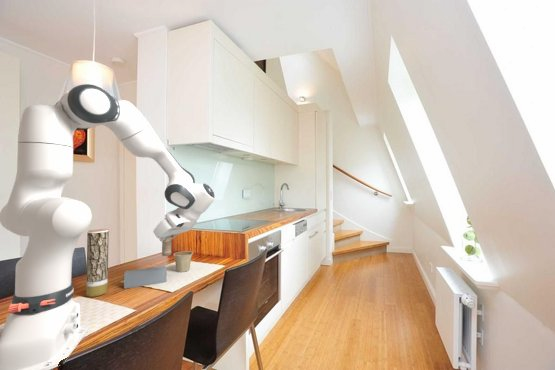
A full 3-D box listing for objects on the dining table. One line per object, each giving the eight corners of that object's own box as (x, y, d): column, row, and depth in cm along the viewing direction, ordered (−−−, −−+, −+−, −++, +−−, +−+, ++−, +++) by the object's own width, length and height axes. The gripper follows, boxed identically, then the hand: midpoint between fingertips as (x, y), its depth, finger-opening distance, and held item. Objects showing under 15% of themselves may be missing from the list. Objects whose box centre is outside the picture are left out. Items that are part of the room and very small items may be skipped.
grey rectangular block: (165, 278, 114) (165, 265, 114) (166, 281, 110) (166, 268, 110) (124, 285, 106) (124, 271, 106) (124, 288, 102) (124, 274, 102)
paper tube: (96, 298, 93) (97, 231, 94) (81, 296, 95) (82, 231, 95) (111, 291, 100) (112, 229, 101) (97, 289, 101) (98, 228, 102)
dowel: (171, 255, 104) (172, 226, 104) (162, 256, 102) (162, 227, 103) (170, 253, 107) (171, 225, 108) (161, 254, 105) (162, 226, 106)
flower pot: (193, 272, 123) (193, 254, 124) (172, 274, 120) (173, 256, 120) (192, 266, 132) (192, 250, 132) (173, 268, 129) (173, 252, 129)
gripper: (195, 209, 113) (177, 230, 116) (163, 213, 94) (142, 237, 96) (204, 219, 112) (185, 240, 114) (173, 225, 92) (151, 250, 95)
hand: (165, 239), depth 105 cm, fingers closed on dowel, 4 cm apart
